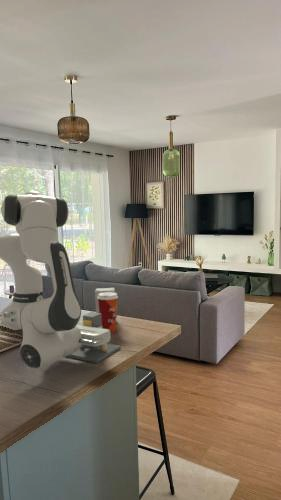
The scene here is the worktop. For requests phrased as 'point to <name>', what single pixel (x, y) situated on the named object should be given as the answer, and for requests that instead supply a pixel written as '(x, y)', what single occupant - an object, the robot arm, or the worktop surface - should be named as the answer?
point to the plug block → (92, 324)
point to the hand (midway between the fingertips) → (93, 326)
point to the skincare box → (98, 291)
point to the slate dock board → (95, 353)
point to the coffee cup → (108, 310)
